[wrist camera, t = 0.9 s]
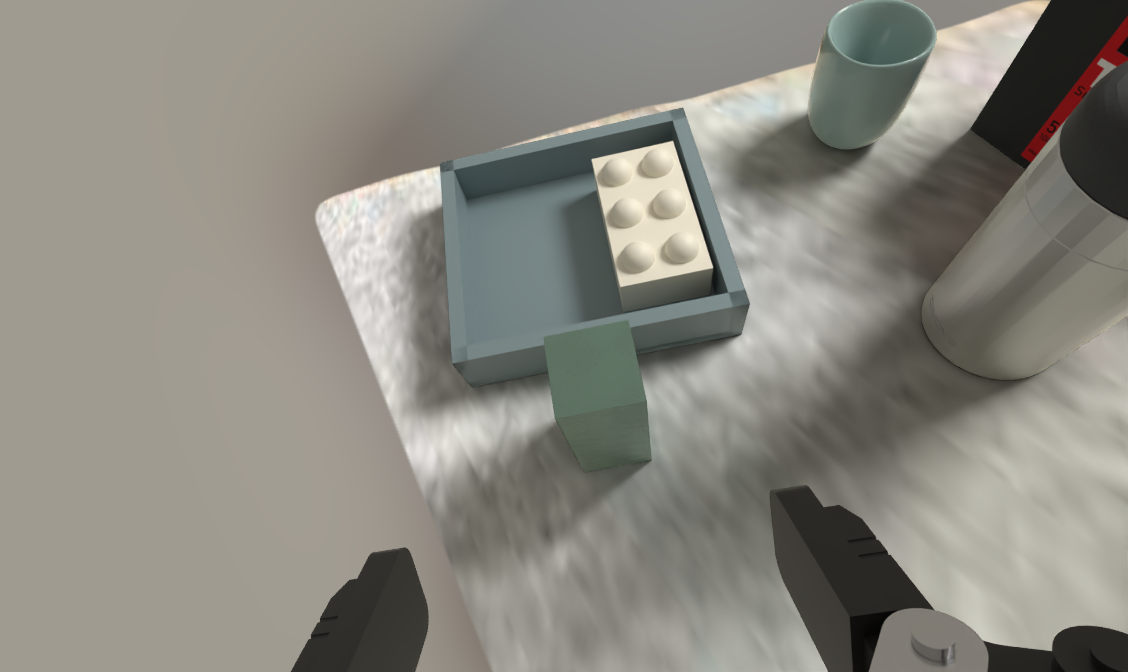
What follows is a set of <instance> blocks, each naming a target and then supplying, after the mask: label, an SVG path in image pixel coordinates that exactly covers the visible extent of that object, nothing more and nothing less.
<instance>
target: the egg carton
mask: <svg viewBox="0 0 1128 672" xmlns="http://www.w3.org/2000/svg"><path fill="white" fill-rule="evenodd" d="M592 165H593V171H594V177H595V184H596V190H597V195H598V199H599V204H600V208H601V213H602V217H603V222H604V226H605V231H606V235H607V240H608V244H609V249H610V253H611V258H612V262H613V267H614V271H615V276H616V281H617V285H618V290H619V294H620V299H621V303H622V308H623V312H627V311H632V310H637V309H642V308H647V307H652V306H657V305H662V304H667V303H672V302H677V301H681V300H686V299H691V298H696V297H701V296H706V295H709V294H710V287H711V280H712V273H713V266H712V263H711V259H710V256H709V253H708V250H707V247H706V244H705V241H704V237H703V234H702V231H701V228H700V225H699V222H698V218H697V215H696V212H695V209H694V206H693V203H692V199H691V196H690V193H689V190H688V187H687V184H686V181H685V177H684V174H683V171H682V168H681V165H680V162H679V158H678V155H677V152H676V149H675V146H674V143H673V141H671V142H666V143H662V144H657V145H653V146H648V147H644V148H640V149H635V150H631V151H626V152H622V153H617V154H613V155H608V156H604V157H599V158H595V159H592Z"/></svg>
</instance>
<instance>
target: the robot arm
mask: <svg viewBox="0 0 1128 672" xmlns="http://www.w3.org/2000/svg"><path fill="white" fill-rule="evenodd" d="M921 315H922V323H923V326H924V329H925V332H926V334H927V336H928V338H929V339H930V341H931V342H932V344H933V346H934V347H935V348H936V349H937V350H938V351H939V352H940V353H941V354H942V355H943V356H944V357H945V358H947V359H948V360H949V361H951V362H952V363H953V364H955V365H956V366H958V367H960V368H962V369H964V370H966V371H968V372H970V373H973V374H976V375H979V376H982V377H986V378H992V379H998V380H1016V379H1022V378H1027V377H1030V376H1033V375H1035V374H1037V373H1040V372H1042V371H1043V370H1045V369H1047V368H1048V367H1050V366H1051V365H1053V364H1054V363H1056V362H1057V361H1059V360H1060V359H1062V358H1063V357H1065V356H1066V355H1068V354H1070V353H1071V352H1073V351H1074V350H1076V349H1077V348H1079V347H1081V346H1082V345H1084V344H1085V343H1087V342H1088V341H1090V340H1091V339H1093V338H1094V337H1096V336H1097V335H1099V334H1101V333H1102V332H1104V331H1105V330H1107V329H1108V328H1110V327H1111V326H1113V325H1114V324H1116V323H1117V322H1119V321H1120V320H1122V319H1124V318H1125V317H1127V316H1128V61H1126V62H1124V63H1122V64H1121V65H1119V66H1117V67H1116V68H1114V69H1113V70H1111V71H1110V72H1109V73H1108V74H1106V75H1105V76H1104V77H1102V78H1101V79H1100V80H1099V81H1098V82H1097V83H1096V84H1095V85H1094V86H1093V87H1092V88H1091V89H1090V90H1089V92H1088V93H1087V94H1086V95H1085V96H1084V98H1083V99H1082V100H1081V101H1080V103H1079V104H1078V105H1077V106H1076V108H1075V109H1074V110H1073V111H1072V113H1071V114H1070V115H1069V116H1068V118H1067V119H1066V120H1065V121H1064V122H1063V124H1062V125H1061V126H1060V127H1059V129H1058V130H1057V131H1056V132H1055V134H1054V135H1053V136H1052V137H1051V139H1050V140H1049V141H1048V142H1047V144H1046V145H1045V146H1044V147H1043V149H1042V150H1041V151H1040V152H1039V154H1038V155H1037V156H1036V157H1035V159H1034V160H1033V161H1032V163H1031V164H1030V165H1029V166H1028V168H1027V169H1026V170H1025V171H1024V172H1023V174H1022V175H1021V176H1020V177H1019V179H1018V180H1017V181H1016V182H1015V184H1014V185H1013V186H1012V187H1011V189H1010V190H1009V191H1008V192H1007V194H1006V195H1005V196H1004V197H1003V199H1002V200H1001V201H1000V202H999V203H998V205H997V206H996V207H995V208H994V210H993V211H992V212H991V213H990V215H989V216H988V217H987V218H986V220H985V221H984V222H983V223H982V225H981V226H980V227H979V228H978V230H977V231H976V232H975V233H974V234H973V236H972V237H971V238H970V239H969V241H968V242H967V243H966V244H965V246H964V247H963V248H962V249H961V251H960V252H959V253H958V254H957V256H956V257H955V258H954V259H953V260H952V262H951V263H950V264H949V265H948V267H947V268H946V269H945V270H944V272H943V273H942V274H941V275H940V277H939V278H938V279H937V280H936V282H935V283H934V284H933V285H932V287H931V288H930V289H929V290H928V292H927V294H926V296H925V298H924V300H923V304H922V310H921ZM770 507H771V516H772V526H773V536H774V545H775V554H776V559H777V563H778V567H779V570H780V573H781V576H782V579H783V581H784V583H785V585H786V587H787V589H788V591H789V593H790V595H791V597H792V599H793V601H794V603H795V605H796V607H797V609H798V611H799V613H800V616H801V618H802V620H803V622H804V624H805V626H806V628H807V630H808V632H809V634H810V636H811V638H812V640H813V642H814V644H815V646H816V648H817V650H818V652H819V654H820V656H821V658H822V660H823V662H824V664H825V666H826V668H827V670H828V672H1128V634H1126V633H1123V632H1120V631H1116V630H1112V629H1109V628H1103V627H1097V626H1075V627H1070V628H1067V629H1064V630H1062V631H1061V632H1059V633H1058V634H1057V635H1056V636H1055V638H1054V640H1053V644H1052V651H1045V650H1036V649H1028V648H1020V647H1011V646H1004V645H998V644H993V643H989V642H986V641H983V640H982V639H981V638H980V637H979V635H978V634H977V633H976V632H975V631H974V630H973V629H971V628H970V627H969V626H967V625H966V624H965V623H963V622H962V621H960V620H958V619H956V618H954V617H952V616H950V615H948V614H945V613H942V612H939V611H935V610H934V609H933V608H932V606H931V605H930V604H929V603H928V601H927V600H926V599H925V598H924V596H923V595H922V594H921V593H920V591H919V590H918V589H917V587H916V586H915V585H914V584H913V582H912V581H911V580H910V579H909V577H908V576H907V575H906V574H905V572H904V571H903V570H902V569H901V567H900V566H899V565H898V564H897V562H896V561H895V560H894V559H893V557H892V556H891V555H888V552H887V550H886V549H885V547H884V546H883V545H882V544H881V542H880V541H879V540H877V539H876V536H875V535H874V534H873V532H872V531H871V530H870V529H869V527H868V526H867V525H866V524H865V522H864V521H863V520H862V519H861V518H860V517H858V516H856V515H855V514H853V513H851V512H850V511H848V510H847V509H845V508H843V507H842V506H840V505H836V506H830V507H823V506H822V504H821V503H820V502H819V500H818V499H817V497H816V496H815V495H814V493H813V492H812V491H811V489H810V488H809V487H808V486H807V485H803V486H797V487H790V488H784V489H778V490H771V491H770ZM427 630H428V607H427V603H426V599H425V596H424V593H423V590H422V587H421V584H420V581H419V577H418V574H417V571H416V568H415V565H414V562H413V559H412V556H411V553H410V551H409V550H408V549H407V548H399V549H393V550H386V551H380V552H373V553H371V554H370V556H369V557H368V559H367V561H366V563H365V565H364V567H363V569H362V571H361V573H360V575H359V576H358V579H353V580H349V581H348V582H347V583H346V584H345V585H344V586H343V587H342V588H341V589H340V590H339V591H338V592H337V593H336V594H335V595H334V596H333V597H332V598H331V599H330V601H329V603H328V605H327V607H326V609H325V611H324V612H323V614H322V616H321V618H320V622H319V623H317V625H316V627H315V629H314V631H313V632H312V634H311V639H309V640H308V642H307V643H306V645H305V647H304V649H303V650H302V652H301V654H300V656H299V658H298V660H297V661H296V663H295V665H294V667H293V669H292V671H291V672H415V671H416V667H417V664H418V661H419V658H420V654H421V651H422V648H423V645H424V641H425V638H426V635H427Z"/></svg>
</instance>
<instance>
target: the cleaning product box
mask: <svg viewBox="0 0 1128 672" xmlns="http://www.w3.org/2000/svg"><path fill="white" fill-rule="evenodd" d="M1126 61H1128V0H1051V1H1050V3H1049V4H1048V6H1047V8H1046V9H1045V11H1044V12H1043V14H1042V16H1041V17H1040V19H1039V20H1038V22H1037V24H1036V25H1035V27H1034V28H1033V30H1032V32H1031V33H1030V35H1029V36H1028V38H1027V39H1026V41H1025V43H1024V44H1023V46H1022V47H1021V49H1020V51H1019V52H1018V54H1017V55H1016V57H1015V59H1014V60H1013V62H1012V63H1011V65H1010V67H1009V68H1008V70H1007V71H1006V73H1005V75H1004V76H1003V78H1002V79H1001V81H1000V83H999V84H998V86H997V87H996V89H995V91H994V92H993V94H992V95H991V97H990V99H989V100H988V102H987V103H986V105H985V107H984V108H983V110H982V111H981V113H980V115H979V116H978V118H977V119H976V121H975V122H974V124H973V126H972V127H971V129H970V130H972V131H973V132H975V133H976V134H977V135H979V136H980V137H982V138H983V139H984V140H986V141H987V142H989V143H990V144H991V145H993V146H994V147H995V148H997V149H998V150H1000V151H1001V152H1002V153H1004V154H1005V155H1007V156H1008V157H1009V158H1011V159H1012V160H1013V161H1015V162H1016V163H1018V164H1019V165H1020V166H1022V167H1023V168H1025V169H1027V168H1028V166H1029V165H1030V164H1031V163H1032V161H1033V160H1034V159H1035V157H1036V156H1037V155H1038V154H1039V152H1040V151H1041V150H1042V149H1043V147H1044V146H1045V145H1046V144H1047V142H1048V141H1049V140H1050V139H1051V137H1052V136H1053V135H1054V134H1055V132H1056V131H1057V130H1058V129H1059V127H1060V126H1061V125H1062V124H1063V122H1064V121H1065V120H1066V119H1067V118H1068V116H1069V115H1070V114H1071V113H1072V111H1073V110H1074V109H1075V108H1076V106H1077V105H1078V104H1079V103H1080V101H1081V100H1082V99H1083V98H1084V96H1085V95H1086V94H1087V93H1088V92H1089V90H1090V89H1091V88H1092V87H1093V86H1094V85H1095V84H1096V83H1097V82H1098V81H1099V80H1100V79H1101V78H1102V77H1104V76H1105V75H1106V74H1108V73H1109V72H1110V71H1111V70H1113V69H1114V68H1116V67H1117V66H1119V65H1121V64H1122V63H1124V62H1126Z"/></svg>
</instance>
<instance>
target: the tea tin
mask: <svg viewBox="0 0 1128 672" xmlns="http://www.w3.org/2000/svg"><path fill="white" fill-rule="evenodd" d="M543 339H544V346H545V353H546V360H547V367H548V374H549V380H550V387H551V394H552V401H553V408H554V415H555V420H556V421H557V423H558V425H559V427H560V429H561V430H562V432H563V434H564V436H565V438H566V440H567V441H568V443H569V445H570V447H571V449H572V451H573V452H574V454H575V456H576V458H577V460H578V462H579V463H580V465H581V467H582V469H583V471H584V473H586V472H591V471H597V470H602V469H608V468H613V467H618V466H624V465H629V464H635V463H640V462H646V461H651V449H650V436H649V424H648V411H647V400H646V396H645V391H644V387H643V382H642V378H641V373H640V369H639V364H638V360H637V356H636V351H635V347H634V342H633V338H632V333H631V329H630V324H629V320H625V321H620V322H615V323H610V324H605V325H600V326H595V327H590V328H585V329H580V330H575V331H570V332H565V333H560V334H555V335H550V336H545V337H543Z"/></svg>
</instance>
